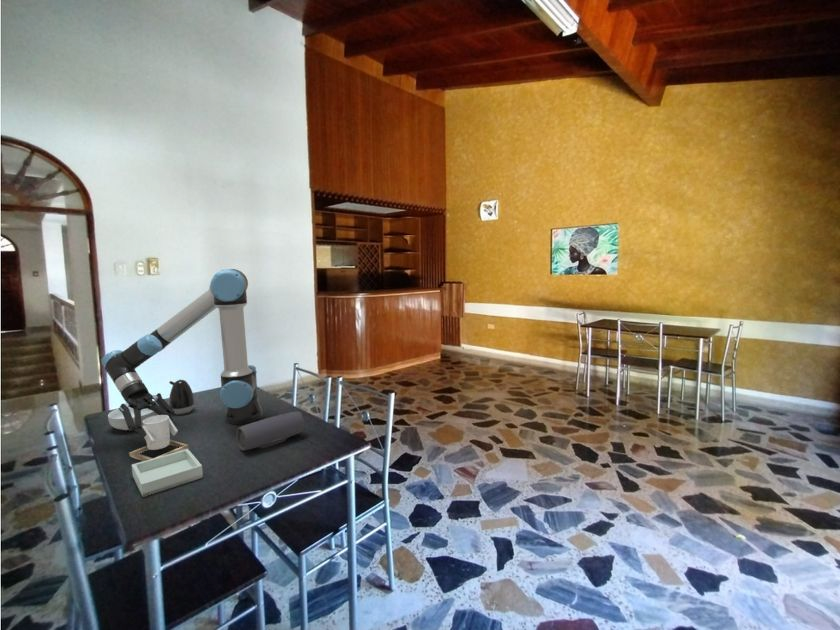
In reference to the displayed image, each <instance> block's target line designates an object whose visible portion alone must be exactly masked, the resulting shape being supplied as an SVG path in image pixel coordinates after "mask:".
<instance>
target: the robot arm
mask: <svg viewBox="0 0 840 630" xmlns="http://www.w3.org/2000/svg"><path fill="white" fill-rule="evenodd" d="M248 286H249V283H248V279H247V276H246V275H245V274H244V273H243V272H242V271H240V270H239V269H235V268H226V269H221V270H220V271H218V272H216V273H215V274H214V275H213V277H212V278H211V280H210V284H209V288H208V290H207V291H204V293H203V294H201V295H200V296H199V297H197V298H196V299H194V300H193V301H192V302H190V303H189V304H188V305H187V306H185V307H183V309H181V310H180V311H179V312H177V313H175V314H174V315H173V316H172V317H171V318H169V319H168V320H167V321H166V322H164V323H163V324H161V325H160V326H159V327H157V328H156V329H155V330H154V331H152V332H151V333H147V334H145V335H143V336H142V337H140V338H139V339H138V340H136V341H135V342H133V344H131V345H130V346H128V347H127V348H126V349H124V350H123V351H122V350H119V349H116V350H112V351H110V352H107V353H106V354H105V355H104V356H103V357H102V358H101V364H102V365H103V367H104V371H105V372H106V373H107V374H108V376H109V377H110V379H111V380H112V382H113V384H114V386H115V387H116V389H117V390H118V392H119V393H120V395H121V396H122V398H123V400H124V401H125V403H121V404H120V406H119V407H118V409H119V410H120V411H121V412H122V413H123V416H124V419H125V421H126V424H127V426H128V429H129V432H133V431H134V432H136V433H138V434H139V436H140V438H144V440H145V441H147V442H146V444H147V443H148V444H149V445H151V444H152V443H153V441H154V439H153V437H152V436H151V434H150V433H149V431H148V429H147V428H146V427H145V425H144V426H142V422H141V410H142V409H147V408H148V409H149V410H152V411H154V412H155V413H156V414H158V415H168V416H169V426H170V435H172V436H175V435H177V433H178V431H179V430H178V428H177V427H176V426H175V424H176V423H175V420H174V419H173V415H174V413H175V412H174V410H173V409H172V408H171V407H170V406H169V403H167V402H166V400H165V399H164V398H163V397H162V393H160V392H158V393H156V394H153V395H152V394H151V393H150V392H149V389H148V387H147V386H146V384H145V383H144V382H143V380H142V379H141V377H140V375H139V374H138V372H137V370H136V369H137V368H138V367H140V366H141V365H142V364H144V363H145V362H146V361H148V360H149V359H151V358H152V357H153V356H155V355H157V354H158V353H159V352H161V351H162V350H164V349H166V347H167V346H169V345H170V344H171V343H173V342H174V341H175V340H176V339H178V338H179V337H180V336H182V335H183V334H184V333H186V332H187V331H189V330H190V329H191V328H192V327H193V326H196V324H197V323H199V322H200V321H202V320H203V319H204V318H205V317H207V316H208V315H209V314H211V313H213V311H214V310H216V309H217V308H218V311H219V312H218V313H219V321H220V322H219V323H220V325H219V326H220V333H221V334H220V335H221V345H222V346H221V347H222V357H223V371H222V372H221V373H220V384H221V388H220V392H219V398H220V401H221V402H222V403H223V404H224V405H225V406H226V411H225V413H224V421H225V422H226V423H228V424H229V425H230V424H231V425H243V424H250V423H253V422H256V421H259V420H261V419H262V417H263V416H264V414H263V413H264V412H263V408H262V406H261V404H260V401H259V398H258V384H257V383H258V382H257V369H256V368H257V367H256V366H255V365H249V363H248V351H247V339H246V327H245V326H246V325H245V312H244V308H245V306H247V304H248V299H247V297H248V296H247V289H248ZM150 405H151V406H150ZM129 407H131V408H133V409H134V416H135V423H134V421H133V418H132V416H131V413H130V410H129Z"/></svg>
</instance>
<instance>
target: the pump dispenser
mask: <svg viewBox="0 0 840 630" xmlns="http://www.w3.org/2000/svg"><path fill="white" fill-rule="evenodd" d="M168 384H170V385H172V387H171V389H170V393H169V397H168V398H169V399H168V405H169V406H170V407H171V408H172V409H173V410H174V412H175V413H174V414H175V415H179V414H180V415H185V413H186V414H188V413H190V412H192V410H193V409H194V408H195V404H196V402H195V401H196V400H195V396H194V395H195V394H194V393H193V390H192V388H191V386H190V384H189V383H188V382H187V381H186V380H184V379H177V380H175V381H172V380H170V381H169V383H168ZM174 414H173V415H174Z"/></svg>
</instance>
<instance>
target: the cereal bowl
mask: <svg viewBox="0 0 840 630" xmlns="http://www.w3.org/2000/svg"><path fill="white" fill-rule="evenodd" d="M150 406H151V405H150ZM129 410H130V413H131V416H132V418H133V421H134V423H135V416H134V409H133V408H131V407H129ZM157 415H158V414H156V413H155V412H154V411H152V410H149V409H148V408H147V409H142V410H141V422H142V426H143V420H145V419H147V418H149V417H152V416H157ZM107 420H108V423H109V426H111V427H112V428H114V429H118V430H124V431H127V430H129V429H128V426H127V424H126V421H125V419H124V416H123V413H122V412H121V411H120V410H119V408H116V409H114V410H112V411H110V412H109V413H108V415H107Z"/></svg>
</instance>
